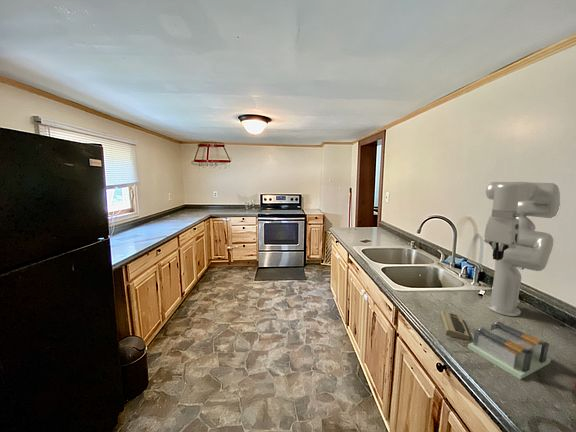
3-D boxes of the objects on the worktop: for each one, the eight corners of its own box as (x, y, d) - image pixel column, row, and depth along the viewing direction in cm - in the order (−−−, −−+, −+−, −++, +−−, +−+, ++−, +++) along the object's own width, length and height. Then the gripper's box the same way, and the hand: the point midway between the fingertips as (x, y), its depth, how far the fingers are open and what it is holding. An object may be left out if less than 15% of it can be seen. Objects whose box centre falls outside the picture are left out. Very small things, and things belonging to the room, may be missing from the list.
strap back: (497, 323, 99) (498, 321, 99) (543, 343, 86) (544, 340, 86) (493, 325, 98) (494, 322, 98) (539, 345, 85) (540, 342, 85)
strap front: (481, 330, 95) (481, 327, 95) (527, 351, 82) (527, 348, 82) (477, 331, 94) (477, 328, 94) (522, 353, 81) (523, 350, 81)
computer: (469, 341, 99) (470, 333, 99) (445, 336, 102) (446, 328, 102) (460, 320, 113) (461, 313, 113) (439, 316, 116) (440, 309, 116)
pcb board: (496, 335, 102) (497, 332, 101) (550, 363, 87) (551, 359, 87) (467, 347, 95) (468, 344, 94) (520, 379, 80) (520, 375, 80)
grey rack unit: (497, 334, 100) (500, 318, 99) (549, 359, 87) (552, 342, 86) (471, 344, 94) (473, 328, 93) (522, 374, 80) (525, 355, 79)
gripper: (532, 217, 96) (525, 264, 99) (488, 211, 109) (483, 253, 112) (521, 218, 93) (513, 266, 96) (477, 212, 106) (472, 255, 110)
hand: (497, 259), depth 104 cm, fingers closed
